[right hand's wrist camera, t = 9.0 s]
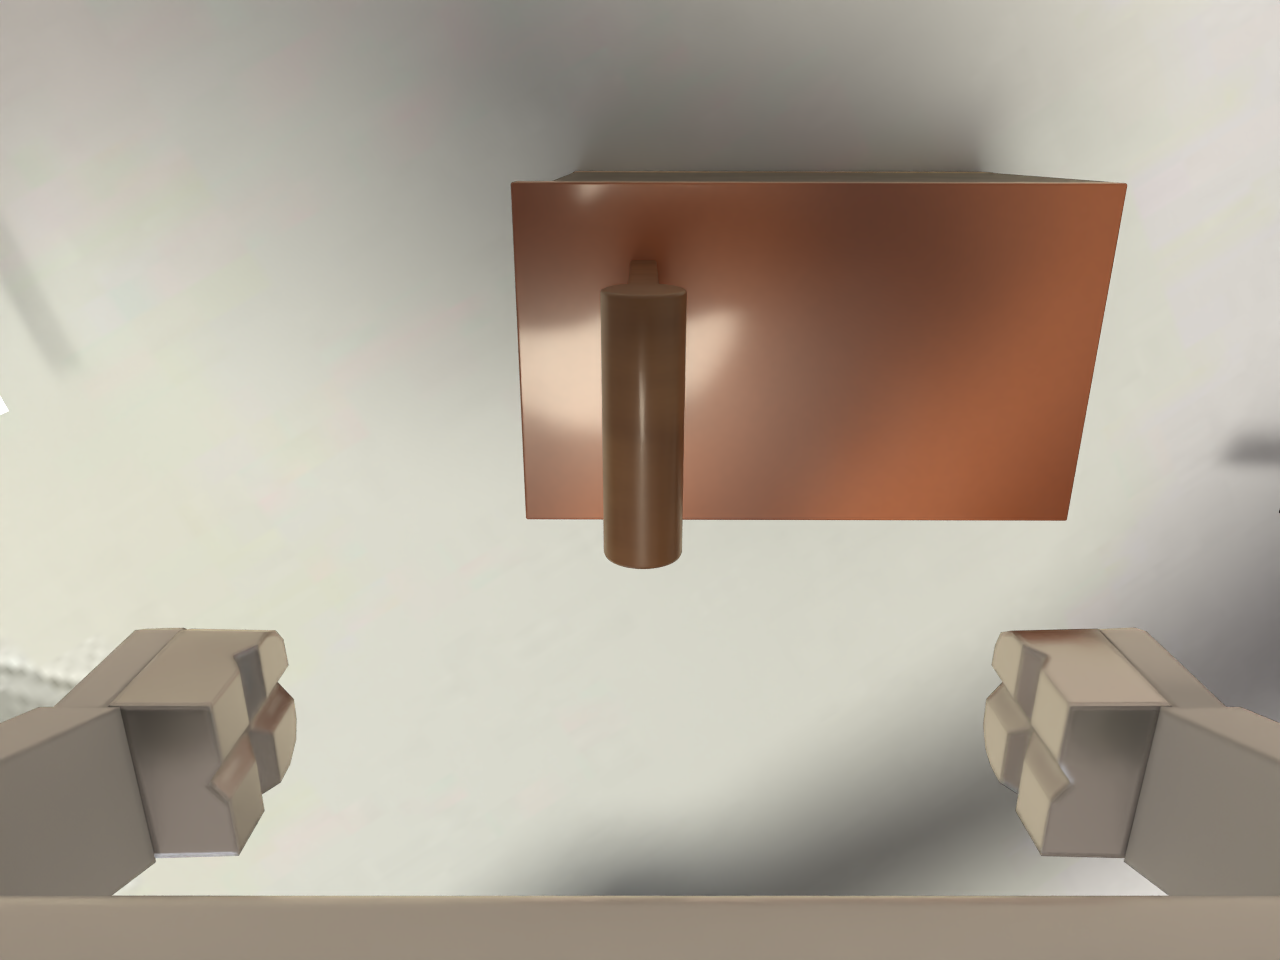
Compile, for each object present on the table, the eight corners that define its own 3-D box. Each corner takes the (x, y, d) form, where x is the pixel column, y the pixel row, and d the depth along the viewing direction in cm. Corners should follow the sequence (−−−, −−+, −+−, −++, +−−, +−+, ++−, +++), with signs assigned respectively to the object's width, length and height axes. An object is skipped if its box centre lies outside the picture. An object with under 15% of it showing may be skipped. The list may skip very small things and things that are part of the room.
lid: (529, 509, 28) (487, 643, 20) (514, 181, 24) (457, 196, 17) (1054, 510, 28) (1208, 646, 20) (1112, 182, 24) (1321, 198, 17)
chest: (581, 416, 37) (560, 508, 28) (575, 171, 34) (550, 180, 24) (949, 417, 37) (1054, 509, 28) (980, 171, 34) (1111, 181, 24)
